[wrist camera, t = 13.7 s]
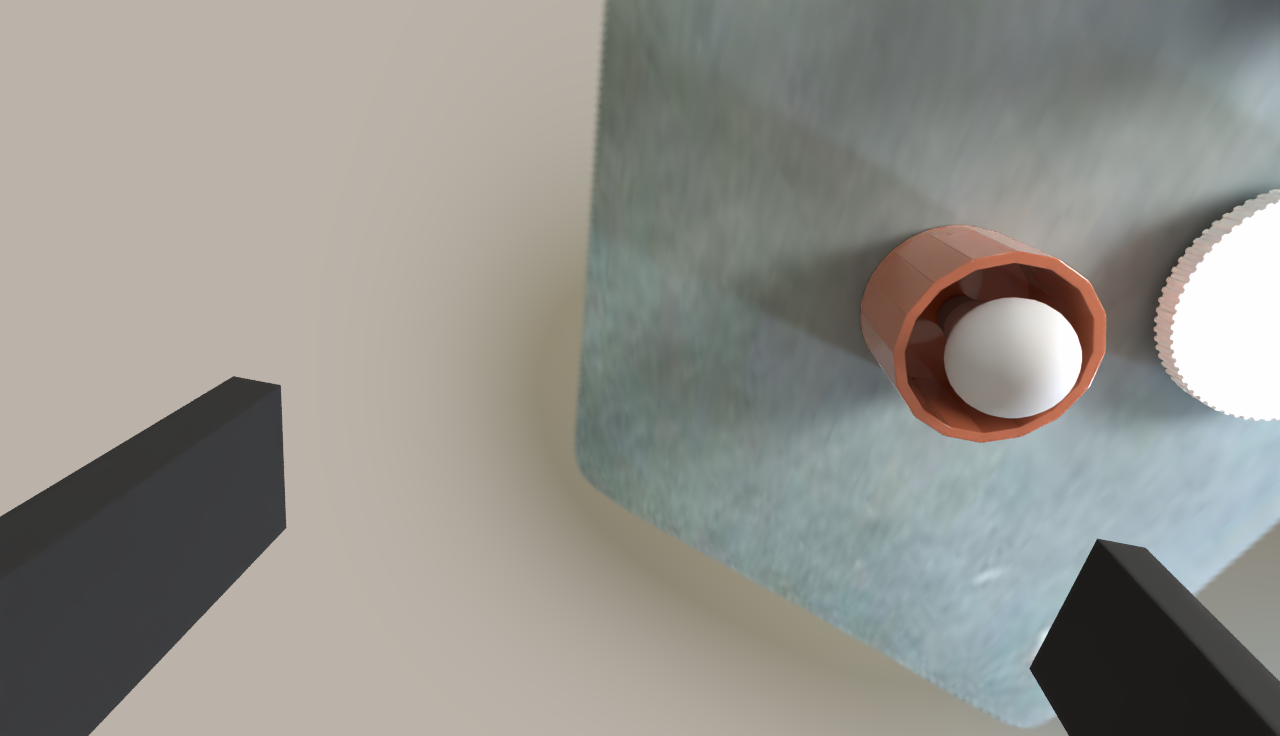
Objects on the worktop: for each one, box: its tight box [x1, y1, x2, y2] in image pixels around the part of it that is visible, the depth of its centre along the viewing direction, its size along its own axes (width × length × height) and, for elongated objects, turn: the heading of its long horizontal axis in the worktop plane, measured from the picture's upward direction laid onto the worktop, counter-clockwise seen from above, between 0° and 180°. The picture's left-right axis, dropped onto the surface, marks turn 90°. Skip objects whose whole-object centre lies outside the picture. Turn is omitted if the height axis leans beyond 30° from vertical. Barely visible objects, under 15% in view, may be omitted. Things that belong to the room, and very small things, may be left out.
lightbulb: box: [937, 296, 1082, 418], centre depth 36 cm, size 6×6×11 cm
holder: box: [860, 225, 1106, 443], centre depth 38 cm, size 10×10×8 cm
